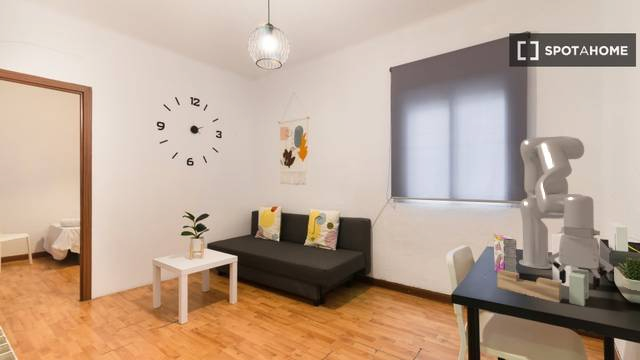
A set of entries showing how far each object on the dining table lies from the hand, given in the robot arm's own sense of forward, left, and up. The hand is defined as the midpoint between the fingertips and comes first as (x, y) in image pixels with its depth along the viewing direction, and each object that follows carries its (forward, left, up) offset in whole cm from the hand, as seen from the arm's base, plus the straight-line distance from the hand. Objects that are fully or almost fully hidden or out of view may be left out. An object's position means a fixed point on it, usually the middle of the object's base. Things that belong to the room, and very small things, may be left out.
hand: (579, 285), depth 97 cm
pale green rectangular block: (0, 0, -5) cm, 5 cm away
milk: (-16, -6, -5) cm, 18 cm away
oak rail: (+6, -13, -5) cm, 15 cm away
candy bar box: (-11, -25, -5) cm, 28 cm away
